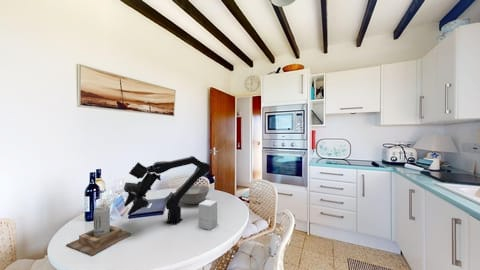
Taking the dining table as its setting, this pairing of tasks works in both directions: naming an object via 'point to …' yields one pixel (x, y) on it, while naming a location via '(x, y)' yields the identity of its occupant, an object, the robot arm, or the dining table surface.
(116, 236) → the socket board
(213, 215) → the supplement box
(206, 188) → the ceramic bowl
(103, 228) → the energy drink can
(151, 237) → the dining table surface
